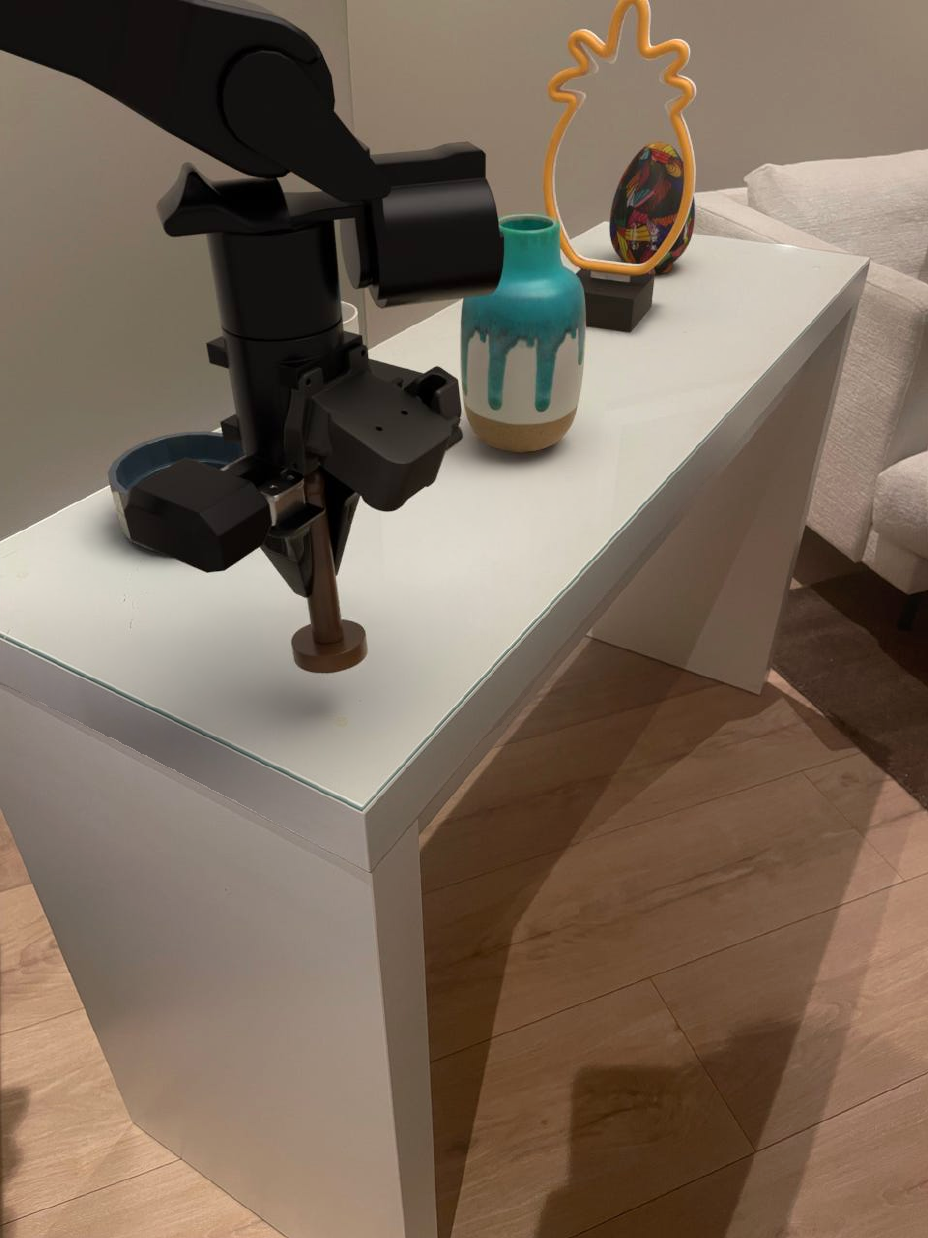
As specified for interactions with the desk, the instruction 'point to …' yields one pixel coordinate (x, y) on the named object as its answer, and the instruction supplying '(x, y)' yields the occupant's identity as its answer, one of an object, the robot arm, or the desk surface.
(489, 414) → the vase
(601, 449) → the desk surface
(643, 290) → the lamp
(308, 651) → the stirring stick
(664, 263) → the egg
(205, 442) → the bowl
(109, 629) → the desk surface
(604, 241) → the desk surface
